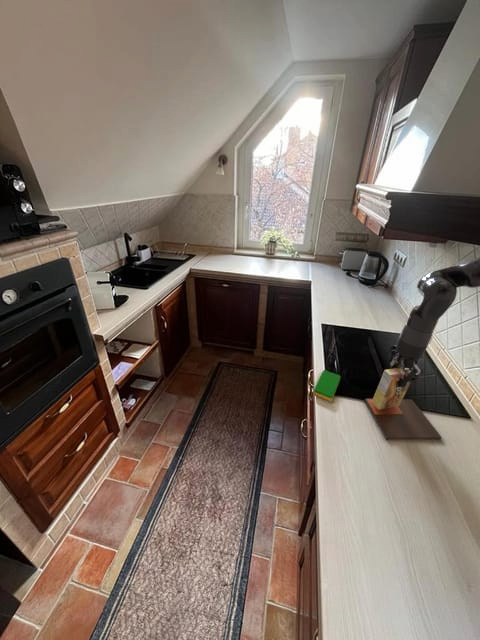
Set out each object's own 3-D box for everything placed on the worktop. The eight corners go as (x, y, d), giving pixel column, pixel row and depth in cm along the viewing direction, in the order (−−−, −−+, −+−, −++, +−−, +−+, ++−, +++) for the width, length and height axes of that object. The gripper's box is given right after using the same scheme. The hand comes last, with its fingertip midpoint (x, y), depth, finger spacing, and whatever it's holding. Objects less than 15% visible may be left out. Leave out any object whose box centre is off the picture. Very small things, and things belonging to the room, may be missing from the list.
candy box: (391, 397, 94) (405, 365, 86) (400, 406, 90) (415, 373, 83) (371, 401, 92) (383, 369, 84) (379, 410, 88) (393, 377, 81)
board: (410, 401, 96) (412, 398, 95) (440, 439, 82) (442, 437, 81) (364, 400, 95) (364, 398, 95) (386, 439, 81) (387, 437, 81)
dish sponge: (339, 380, 105) (341, 375, 103) (331, 402, 94) (332, 397, 93) (322, 373, 108) (323, 369, 107) (312, 394, 97) (313, 389, 96)
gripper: (442, 353, 71) (420, 396, 80) (412, 326, 83) (395, 366, 92) (416, 353, 71) (396, 396, 79) (389, 326, 83) (374, 366, 92)
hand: (395, 380), depth 86 cm, fingers closed on candy box, 4 cm apart
